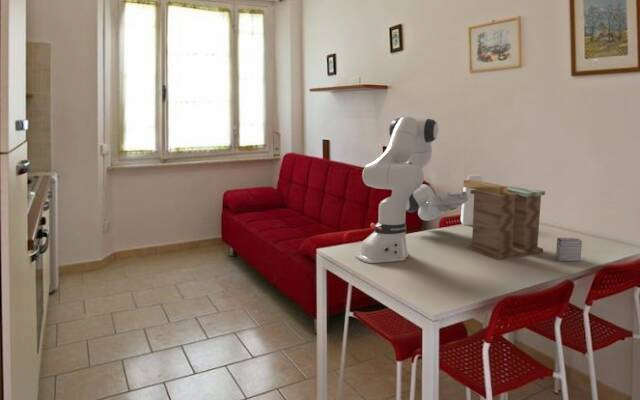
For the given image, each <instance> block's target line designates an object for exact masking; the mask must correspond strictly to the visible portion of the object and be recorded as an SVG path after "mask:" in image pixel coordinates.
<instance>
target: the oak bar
mask: <svg viewBox="0 0 640 400" xmlns="http://www.w3.org/2000/svg"><path fill="white" fill-rule="evenodd" d="M464 187H466V188H471V189H476V190H481V191H486V192H491V193H496V194H506V193H507V187H508V185H503V184H498V183H491V182H485V181H484V182H481V181H476V180H467V179H464V180H463V187H462V188H464Z"/></svg>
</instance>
